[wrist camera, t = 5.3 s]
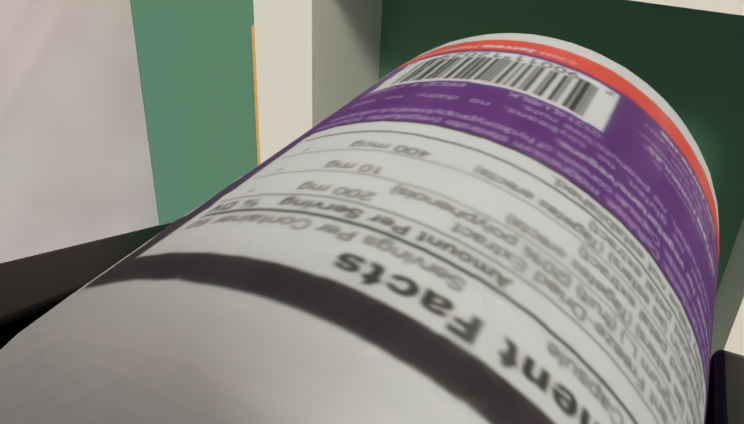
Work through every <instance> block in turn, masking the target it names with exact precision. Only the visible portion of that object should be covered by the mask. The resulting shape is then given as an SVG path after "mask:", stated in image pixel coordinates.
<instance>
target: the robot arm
mask: <svg viewBox="0 0 744 424" xmlns="http://www.w3.org/2000/svg"><path fill="white" fill-rule="evenodd" d="M172 223H173V222H171V223H167V224H163V225H159V226H155V227H150V228H146V229H142V230H138V231H134V232H130V233H125V234H121V235H117V236H113V237H109V238H105V239H100V240H96V241H92V242H88V243H84V244H80V245H76V246H71V247H67V248H63V249H59V250H55V251H51V252H46V253H42V254H38V255H34V256H30V257H26V258H22V259H17V260H13V261H9V262H5V263H1V264H0V350H1V349H2V348H3V347H4V346H5V345H6V344H7V343H8V342H9V341H10V340H11V339H12V338H14V337H15V336H16V335H17V334H18V333H19V332H21V331H22V330H23V329H25V328H26V327H28V326H29V325H30V324H32V323H33V322H34V321H36V320H37V319H39V318H40V317H41V316H43V315H44V314H45V313H47V312H48V311H50V310H51V309H52V308H54V307H55V306H56V305H58V304H59V303H60V302H62V301H63V300H65V299H66V298H67V297H69V296H70V295H72V294H73V293H74V292H76V291H77V290H79V289H80V288H82V287H83V286H84V285H86V284H87V283H89V282H90V281H92V280H93V279H95V278H96V277H97V276H99V275H100V274H102V273H103V272H105V271H106V270H108V269H109V268H110V267H112V266H113V265H115V264H116V263H118V262H119V261H120V260H122V259H123V258H125V257H126V256H128V255H129V254H131V253H132V252H133V251H135V250H136V249H138V248H139V247H141V246H142V245H143V244H145V243H146V242H148V241H149V240H150V239H152V238H153V237H154V236H156V235H157V234H159V233H160V232H161V231H163V230H164V229H165V228H167V227H168V226H169V225H170V224H172ZM706 424H744V356H743V355H740V354H736V353H733V352H729V351H726V350H721V349H720V350H717V351H716V352H714V353H713V355H712V357H711V359H710V373H709V388H708V404H707V417H706Z"/></svg>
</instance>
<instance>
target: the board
mask: <svg viewBox="0 0 744 424" xmlns="http://www.w3.org/2000/svg"><path fill="white" fill-rule="evenodd" d="M130 3H131V11H132V18H133V26H134V34H135V42H136V49H137V57H138V65H139V72H140V80H141V88H142V95H143V103H144V111H145V118H146V126H147V134H148V141H149V149H150V157H151V164H152V172H153V180H154V187H155V195H156V203H157V210H158V218H159V225H163V224H167V223H171V222H174V221H176V220H178V219H180V218H182V217H183V216H185V215H186V214H188V213H189V212H191V211H193V210H194V209H196V208H197V207H199V206H200V205H202V204H203V203H204V202H206V201H207V200H208V199H210V198H211V197H213V196H214V195H215V194H217V193H218V192H220V191H221V190H223V189H224V188H226V187H227V186H229V185H230V184H232V183H233V182H235V181H236V180H237V179H238V178H240V177H241V176H243V175H245V174H246V173H248V172H250V171H251V170H253V169H254V168H255V167H257V166H258V165H260V164H261V163H263V162H264V161H266V160H267V159H268V158H270V157H271V156H273V155H274V154H276V153H277V152H279V151H280V150H281V149H283V148H284V147H286V146H287V145H289V144H290V143H291V142H293V141H294V140H296V139H297V138H299V137H300V136H301V135H303V134H304V133H306V132H307V131H309V130H310V129H311V128H313V127H314V126H316V125H317V124H319V123H320V122H322V121H323V120H324V119H326V118H327V117H329V116H330V115H332V114H333V113H335V112H336V111H338V110H339V109H340V108H342V107H343V106H345V105H346V104H347V103H349V102H350V101H351V100H353V99H354V98H355V97H357V96H358V95H360V94H361V93H362V92H364V91H365V90H367V89H368V88H370V87H371V86H372V85H374V84H375V83H377V82H378V81H380V80H381V79H382V78H384V77H385V76H386V75H387V74H389V73H390V72H392V71H393V70H395V69H396V68H398V67H399V66H401V65H403V64H405V63H407V62H408V61H410V60H412V59H414V58H415V57H417V56H419V55H421V54H423V53H425V52H427V51H429V50H432V49H434V48H436V47H439V46H441V45H444V44H447V43H449V42H453V41H456V40H460V39H464V38H469V37H474V36H480V35H485V34H497V33H521V34H534V35H540V36H545V37H550V38H555V39H559V40H563V41H567V42H571V43H573V44H576V45H579V46H582V47H584V48H587V49H589V50H592V51H594V52H596V53H599V54H601V55H603V56H604V57H606V58H608V59H610V60H612V61H614V62H616V63H618V64H620V65H621V66H623V67H625V68H626V69H628V70H629V71H631V72H632V73H633V74H635V75H636V76H638V77H639V78H640V79H642V80H643V81H645V82H646V83H647V84H648V85H649V86H650V87H651V88H653V89H654V90H655V91H656V92H657V93H658V94H659V95H660V96H661V97H663V98H664V100H665V101H666V102H667V103H668V104H669V105H670V106H671V107H672V109H673V110H674V111H675V112H676V113H677V114H678V116H679V117H680V118H681V120H682V121H683V123H684V124H685V125H686V127H687V129H688V130H689V132H690V134H691V135H692V137H693V138H694V140H695V142H696V143H697V145H698V147H699V149H700V152H701V154H702V156H703V158H704V160H705V163H706V165H707V167H708V169H709V172H710V175H711V179H712V183H713V187H714V191H715V195H716V200H717V205H718V219H719V263H718V275H717V286H716V296H715V306H714V318H713V333H712V346H711V357H712V355H713V353H714V352H716V351H717V350H720V349H721V350H726V351H729V352H733V353H736V354H740V355H743V356H744V0H130Z"/></svg>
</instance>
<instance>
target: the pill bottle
mask: <svg viewBox="0 0 744 424" xmlns="http://www.w3.org/2000/svg"><path fill="white" fill-rule="evenodd" d="M718 263H719V219H718V205H717V200H716V195H715V191H714V187H713V183H712V179H711V175H710V172H709V169H708V167H707V165H706V163H705V160H704V158H703V156H702V154H701V152H700V149H699V147H698V145H697V143H696V142H695V140H694V138H693V137H692V135H691V134H690V132H689V130H688V129H687V127H686V125H685V124H684V123H683V121H682V120H681V118H680V117H679V116H678V114H677V113H676V112H675V111H674V110H673V109H672V107H671V106H670V105H669V104H668V103H667V102H666V101H665V100H664V98H663V97H661V96H660V95H659V94H658V93H657V92H656V91H655V90H654V89H653V88H651V87H650V86H649V85H648V84H647V83H646V82H645V81H643V80H642V79H640V78H639V77H638V76H636V75H635V74H633V73H632V72H631V71H629V70H628V69H626V68H625V67H623V66H621V65H620V64H618V63H616V62H614V61H612V60H610V59H608V58H606V57H604V56H603V55H601V54H599V53H596V52H594V51H592V50H589V49H587V48H584V47H582V46H579V45H576V44H573V43H571V42H567V41H563V40H559V39H555V38H550V37H545V36H540V35H534V34H521V33H497V34H485V35H480V36H474V37H469V38H464V39H460V40H456V41H453V42H449V43H447V44H444V45H441V46H439V47H436V48H434V49H432V50H429V51H427V52H425V53H423V54H421V55H419V56H417V57H415V58H414V59H412V60H410V61H408V62H407V63H405V64H403V65H401V66H399V67H398V68H396V69H395V70H393V71H392V72H390V73H389V74H387V75H386V76H385V77H384V78H382V79H381V80H380V81H378V82H377V83H375V84H374V85H372V86H371V87H370V88H368V89H367V90H365V91H364V92H362V93H361V94H360V95H358V96H357V97H355V98H354V99H353V100H351V101H350V102H349V103H347V104H346V105H345V106H343V107H342V108H340V109H339V110H338V111H336V112H335V113H333V114H332V115H330V116H329V117H327V118H326V119H324V120H323V121H322V122H320V123H319V124H317V125H316V126H314V127H313V128H311V129H310V130H309V131H307V132H306V133H304V134H303V135H301V136H300V137H299V138H297V139H296V140H294V141H293V142H291V143H290V144H289V145H287V146H286V147H284V148H283V149H281V150H280V151H279V152H277V153H276V154H274V155H273V156H271V157H270V158H268V159H267V160H266V161H264V162H263V163H261V164H260V165H258V166H257V167H255V168H254V169H253V170H251V171H250V172H248V173H246V174H245V175H243V176H241V177H240V178H238V179H237V180H236V181H235V182H233V183H232V184H230V185H229V186H227V187H226V188H224V189H223V190H221V191H220V192H218V193H217V194H215V195H214V196H213V197H211V198H210V199H208V200H207V201H206V202H204V203H203V204H202V205H200V206H199V207H197V208H196V209H194V210H193V211H191V212H189V213H188V214H186V215H185V216H183V217H182V218H180V219H178V220H176V221H174V222H173V223H172V224H170V225H169V226H168V227H167V228H165V229H164V230H163V231H161V232H160V233H159V234H157V235H156V236H154V237H153V238H152V239H150V240H149V241H148V242H146V243H145V244H143V245H142V246H141V247H139V248H138V249H136V250H135V251H133V252H132V253H131V254H129V255H128V256H126V257H125V258H123V259H122V260H120V261H119V262H118V263H116V264H115V265H113V266H112V267H110V268H109V269H108V270H106V271H105V272H103V273H102V274H100V275H99V276H97V277H96V278H95V279H93V280H92V281H90V282H89V283H87V284H86V285H84V286H83V287H82V288H80V289H79V290H77V291H76V292H74V293H73V294H72V295H70V296H69V297H67V298H66V299H65V300H63V301H62V302H60V303H59V304H58V305H56V306H55V307H54V308H52V309H51V310H50V311H48V312H47V313H45V314H44V315H43V316H41V317H40V318H39V319H37V320H36V321H34V322H33V323H32V324H30V325H29V326H28V327H26V328H25V329H23V330H22V331H21V332H19V333H18V334H17V335H16V336H15V337H14V338H12V339H11V340H10V341H9V342H8V343H7V344H6V345H5V346H4V347H3V348H2V349H1V350H0V424H706V417H707V404H708V388H709V373H710V359H711V346H712V333H713V318H714V306H715V296H716V286H717V275H718Z"/></svg>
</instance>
